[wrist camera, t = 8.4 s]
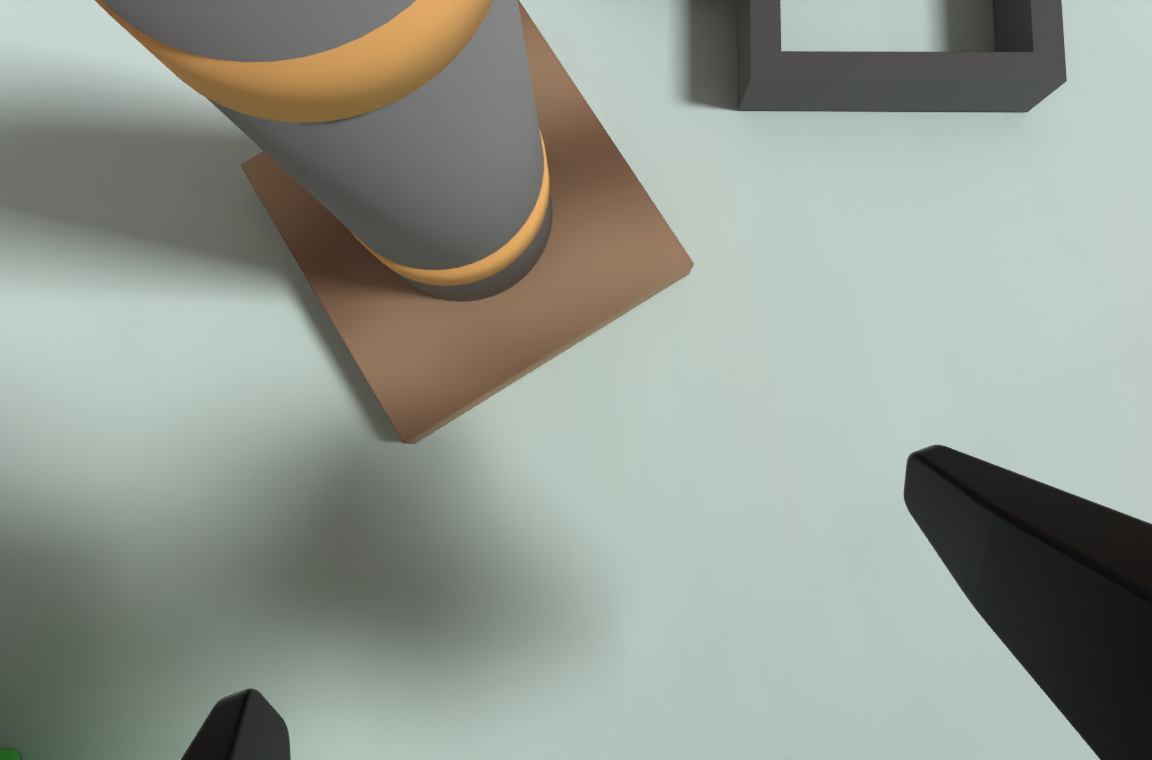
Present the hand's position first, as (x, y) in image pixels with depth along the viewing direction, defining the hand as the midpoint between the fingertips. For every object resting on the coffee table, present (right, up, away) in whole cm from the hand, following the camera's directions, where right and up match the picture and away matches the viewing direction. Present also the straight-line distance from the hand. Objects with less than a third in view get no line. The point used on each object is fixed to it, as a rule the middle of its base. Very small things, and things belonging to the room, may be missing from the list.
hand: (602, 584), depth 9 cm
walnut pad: (-3, +7, +10) cm, 13 cm away
